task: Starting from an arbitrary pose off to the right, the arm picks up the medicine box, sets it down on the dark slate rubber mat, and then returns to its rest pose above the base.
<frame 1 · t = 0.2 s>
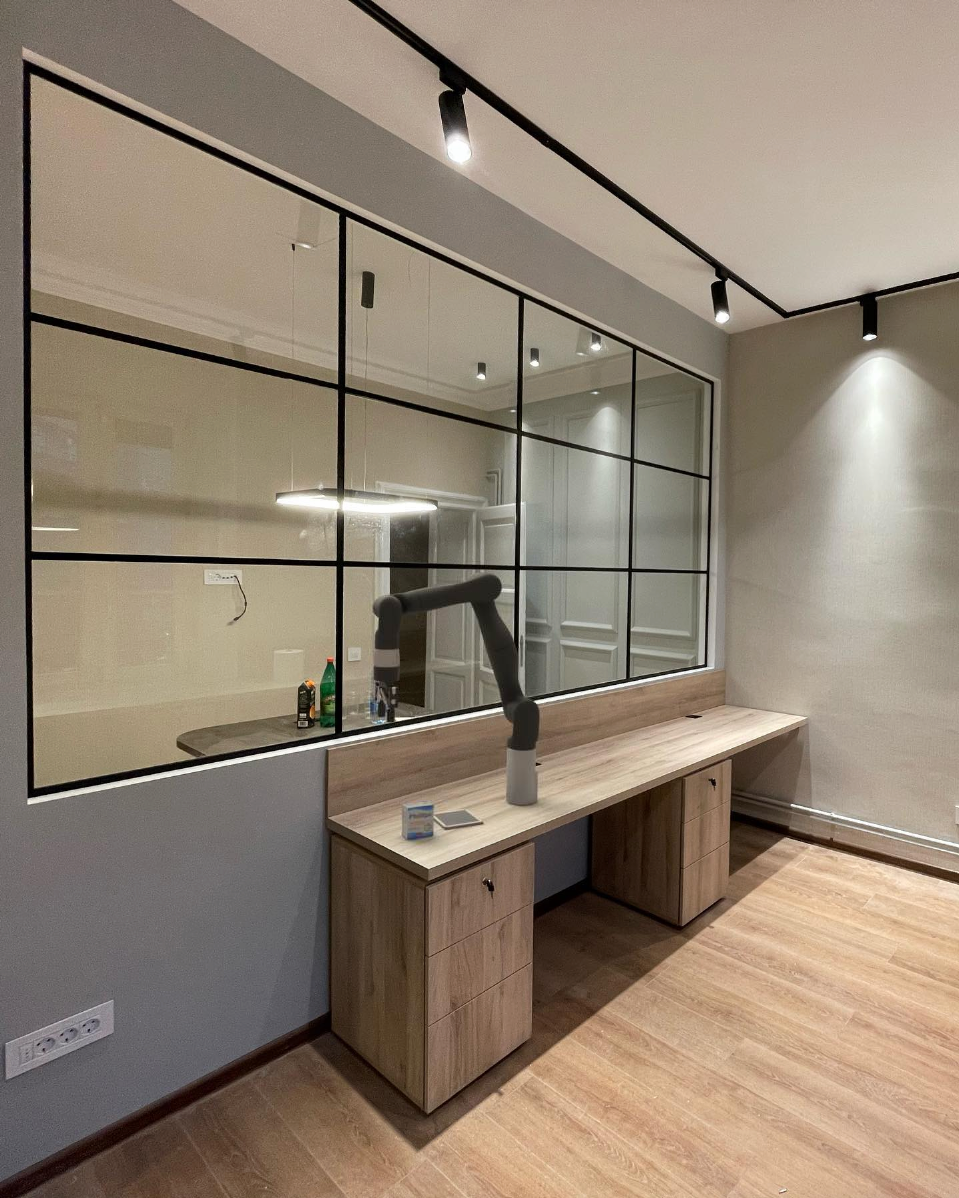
hand: (385, 719, 199), 29 cm above the table, fingers open, 8 cm apart
medicine box: (417, 836, 188), on the table
mat: (456, 819, 200), on the table
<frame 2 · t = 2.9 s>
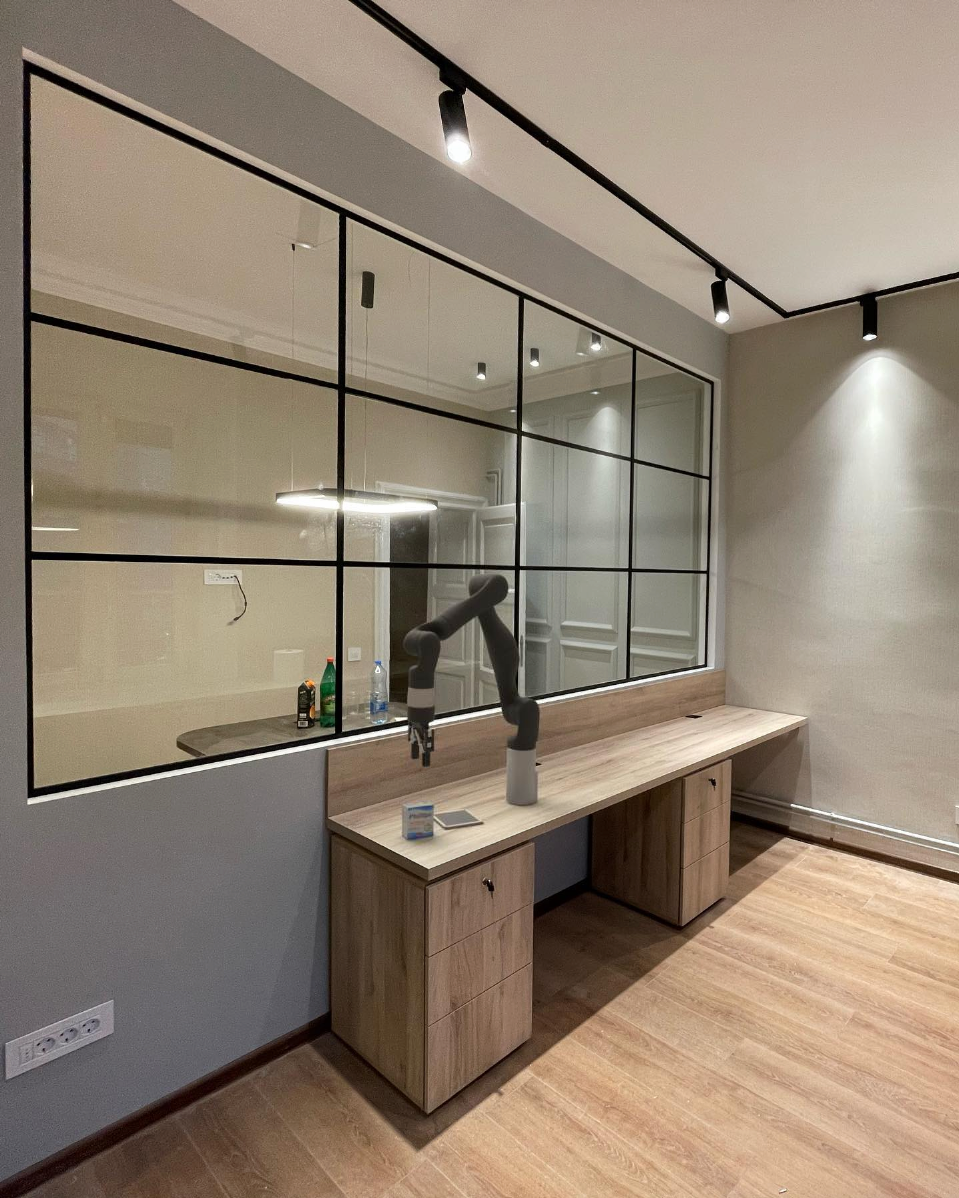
hand: (420, 762, 187), 20 cm above the table, fingers open, 8 cm apart
nothing on the table moved.
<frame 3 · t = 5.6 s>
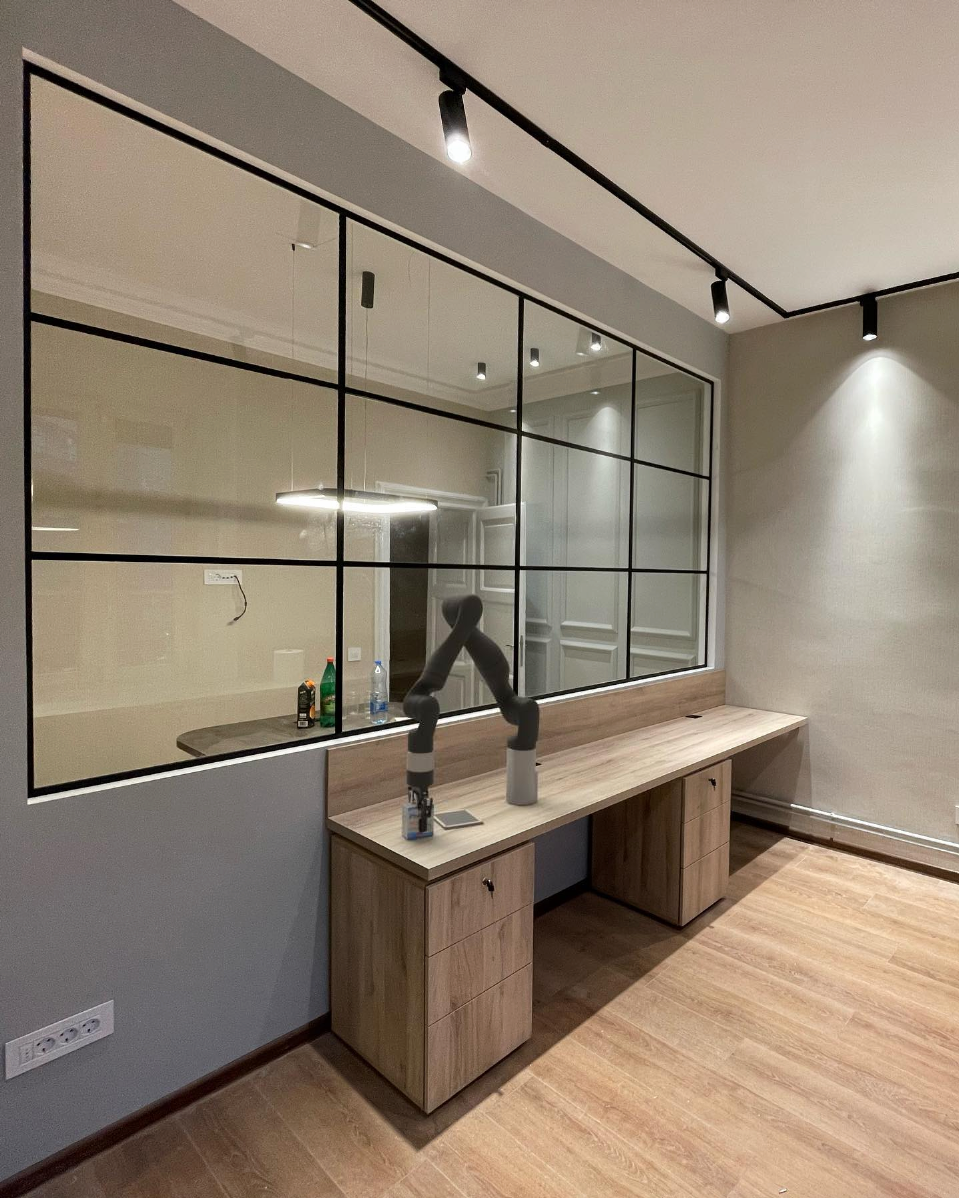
hand: (419, 828, 188), 2 cm above the table, fingers closed on medicine box, 4 cm apart
medicine box: (417, 835, 188), on the table, touching gripper
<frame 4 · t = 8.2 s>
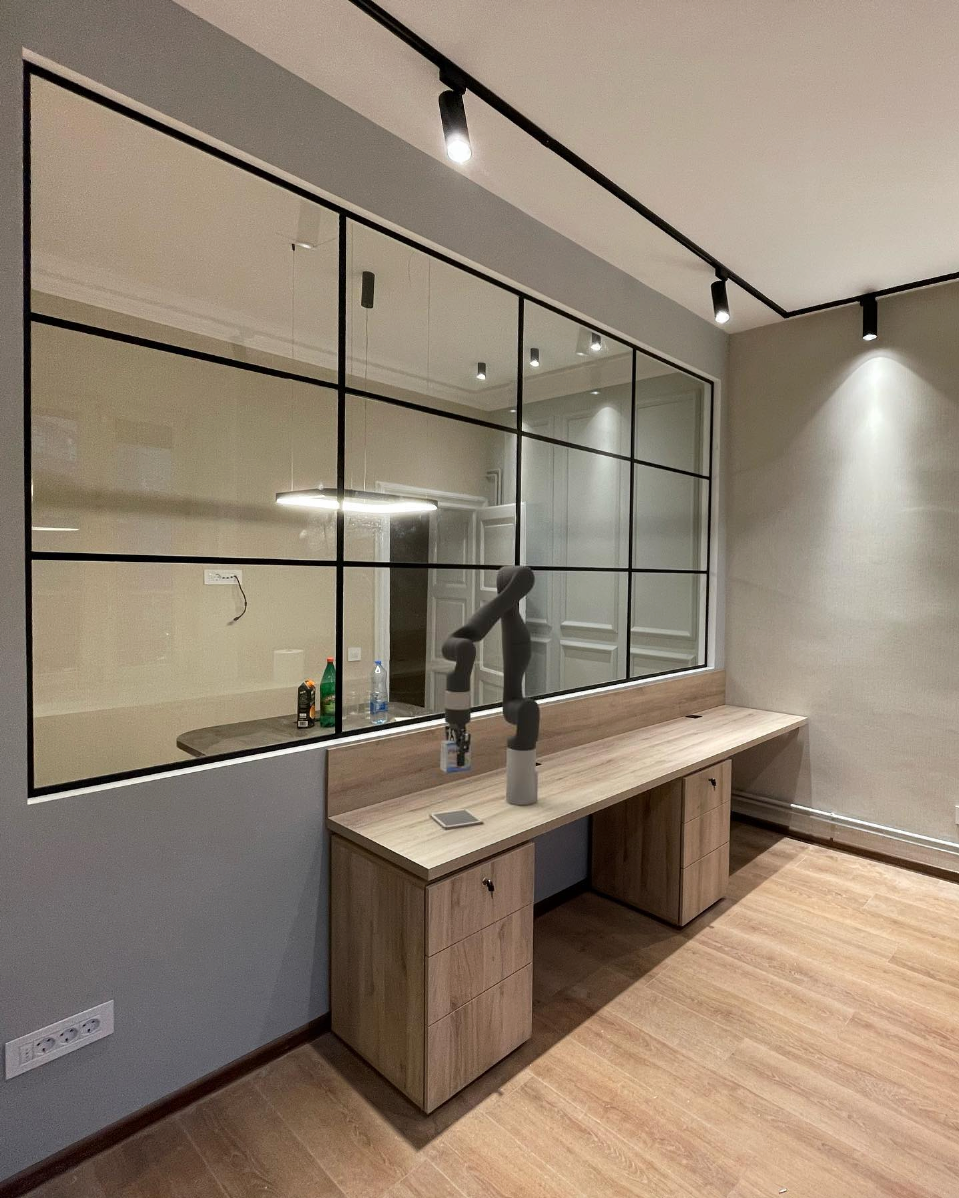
hand: (457, 763, 200), 17 cm above the table, fingers closed on medicine box, 4 cm apart
medicine box: (455, 770, 200), point 15 cm above the table, touching gripper
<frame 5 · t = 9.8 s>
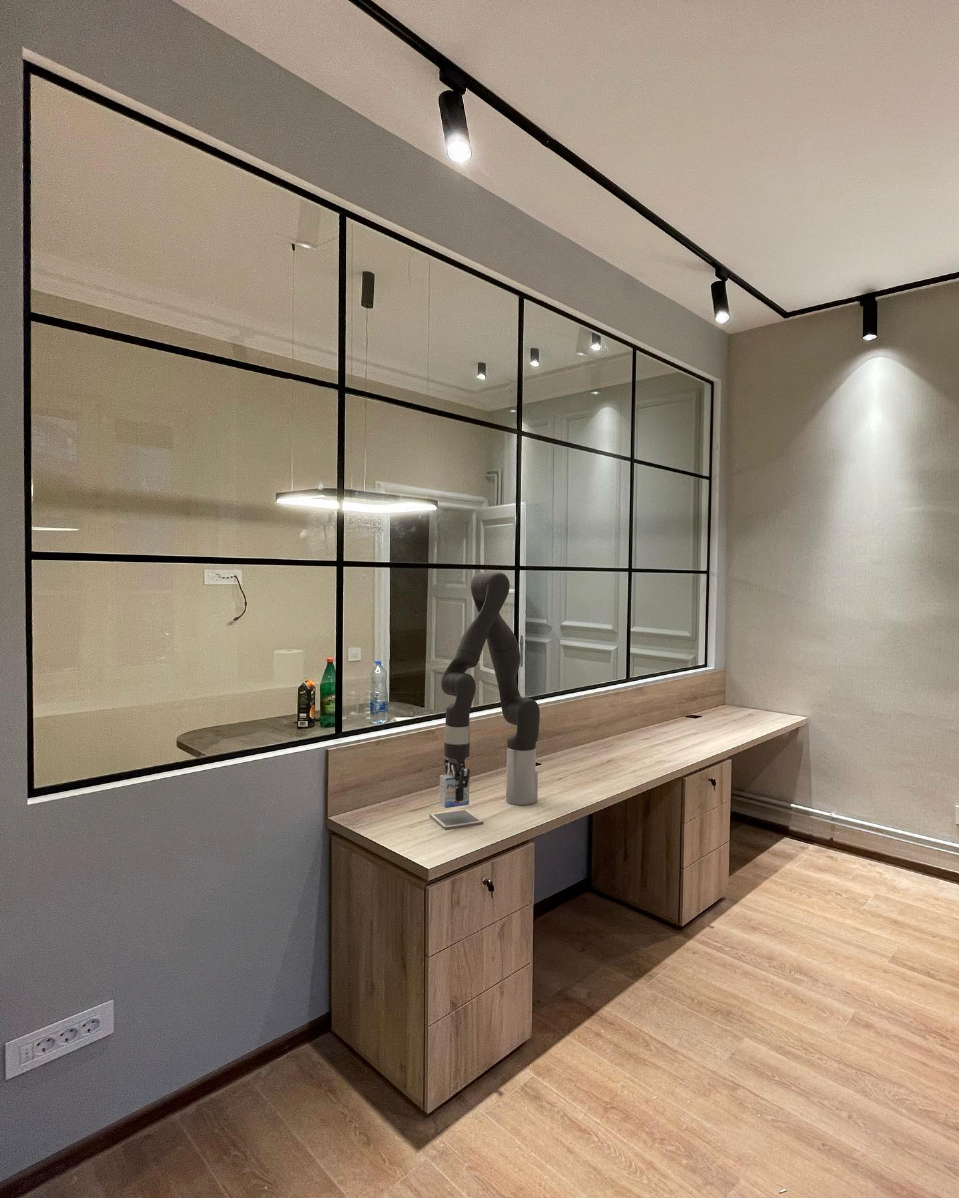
hand: (455, 798, 200), 6 cm above the table, fingers closed on medicine box, 4 cm apart
medicine box: (454, 805, 200), point 4 cm above the table, touching gripper
when the fingers open (4 cm above the table, at t = 10.8 s): medicine box drops 1 cm, resting on mat.
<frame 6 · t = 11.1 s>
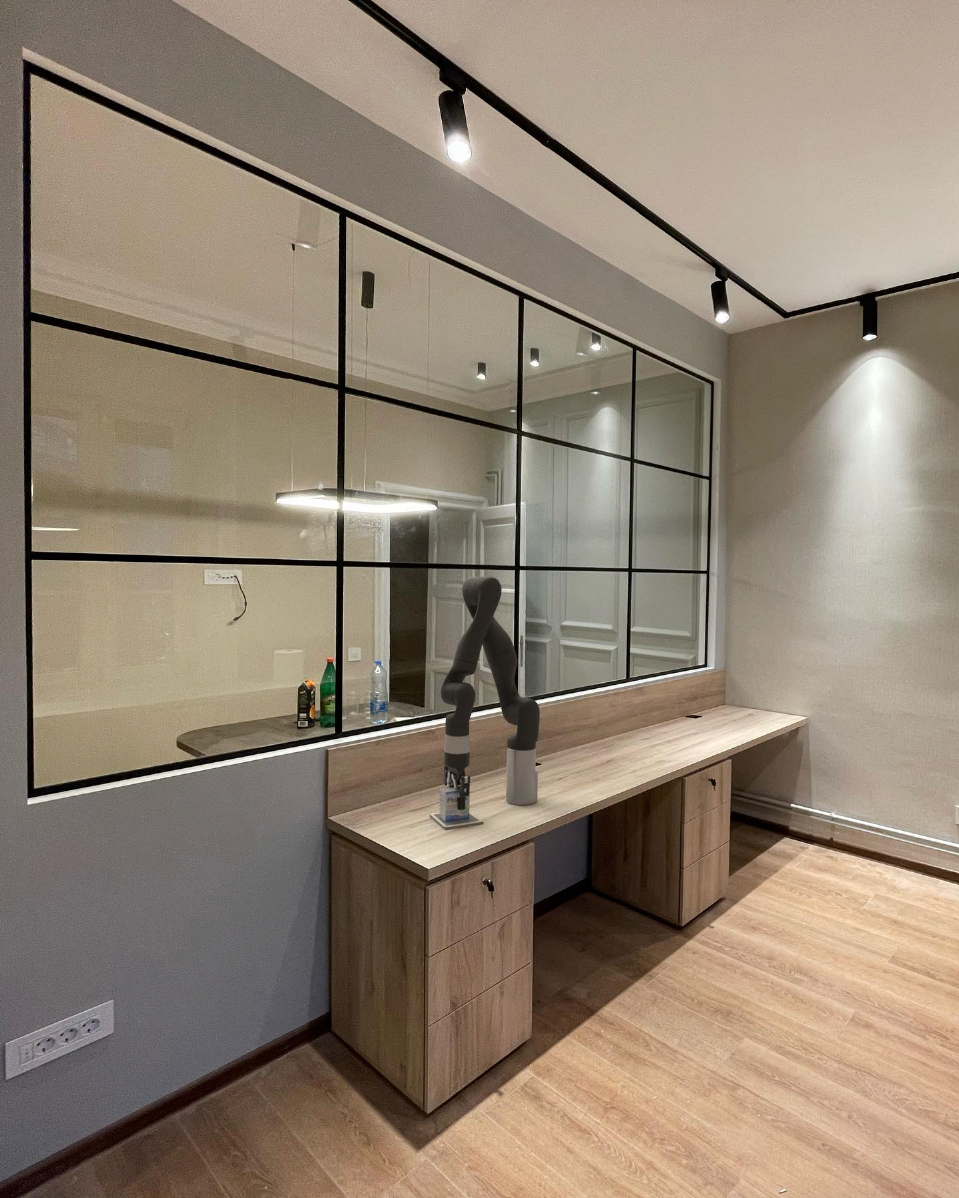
hand: (456, 805, 200), 4 cm above the table, fingers open, 6 cm apart
medicine box: (454, 818, 200), resting on mat
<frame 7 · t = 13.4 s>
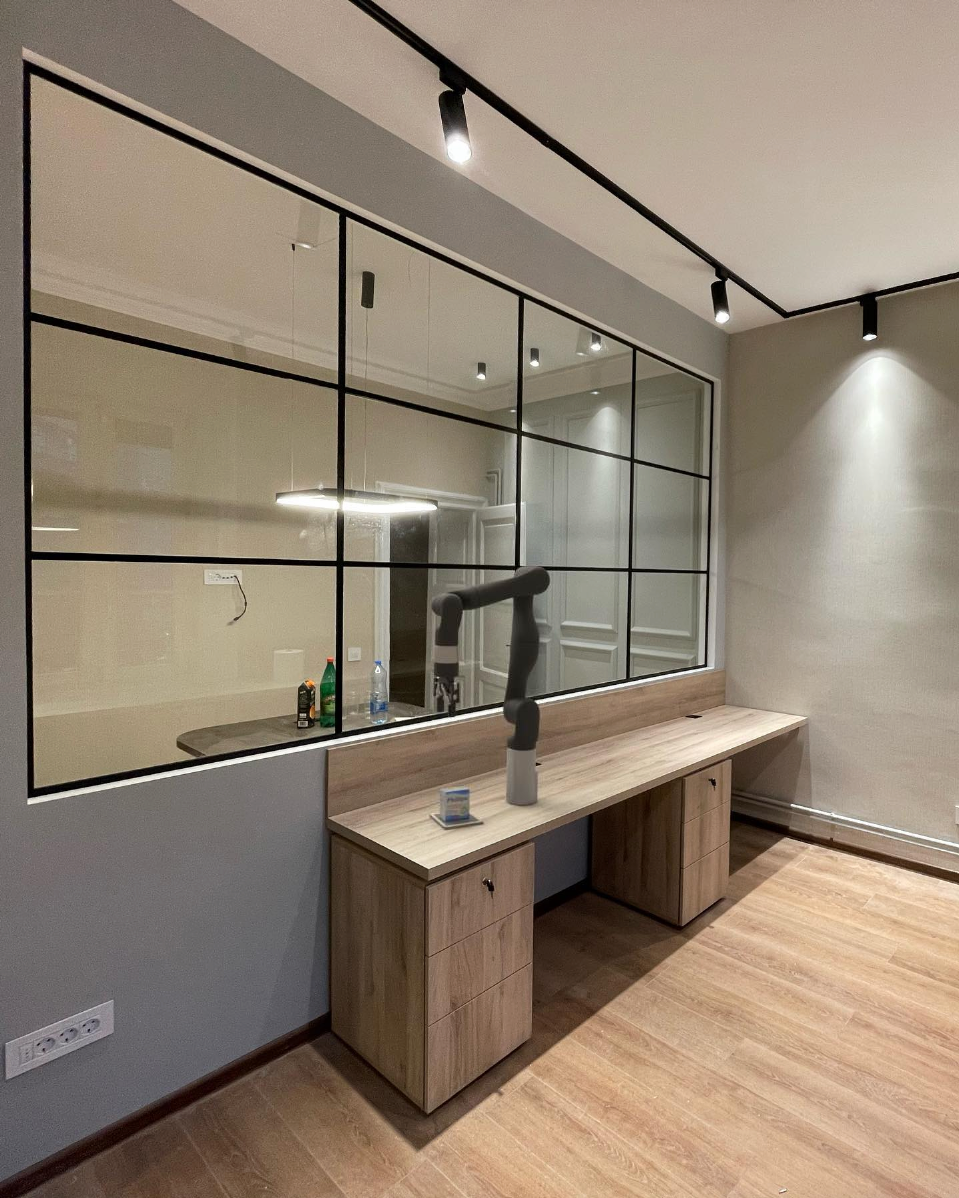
hand: (445, 714, 204), 30 cm above the table, fingers open, 8 cm apart
nothing on the table moved.
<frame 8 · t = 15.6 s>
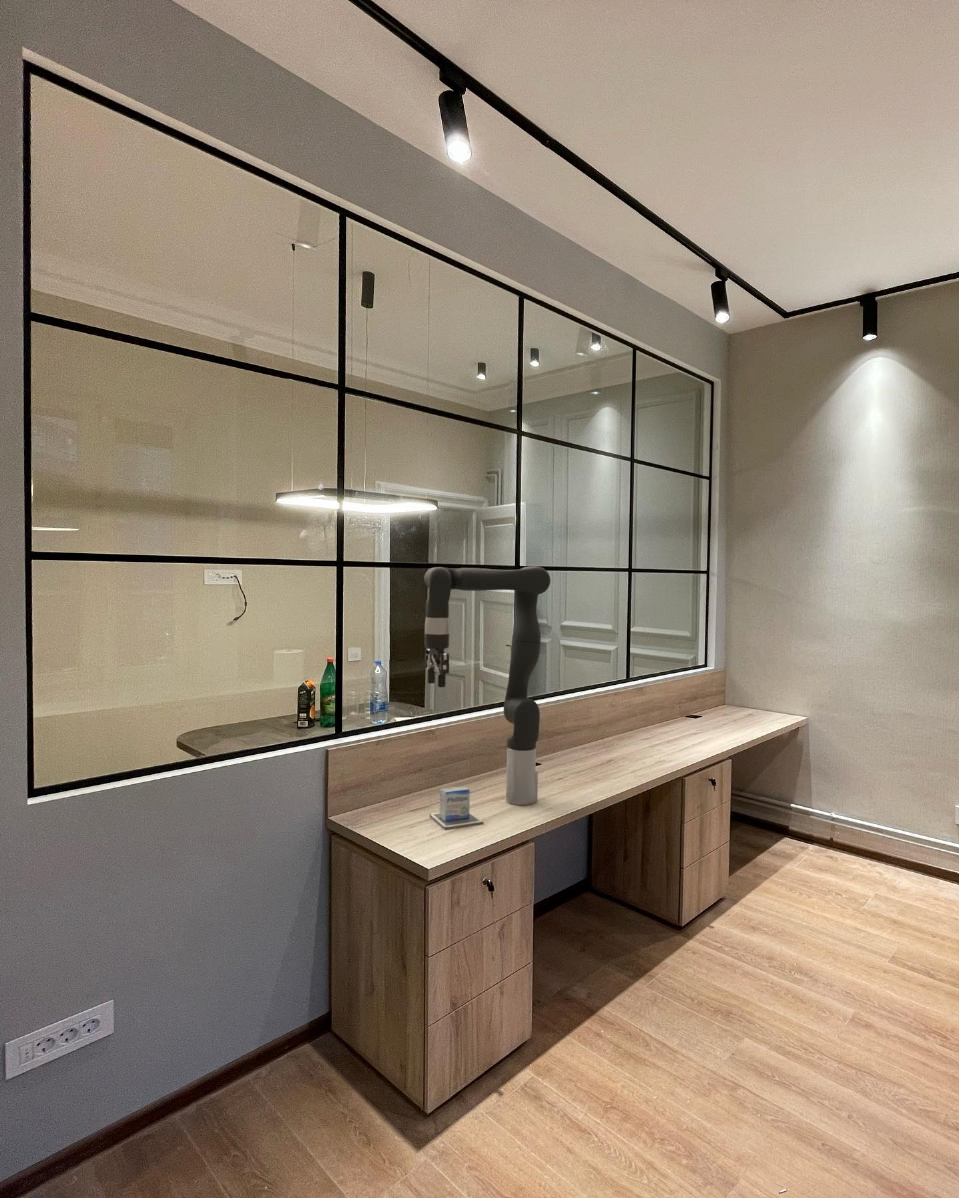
hand: (436, 685, 209), 38 cm above the table, fingers open, 8 cm apart
nothing on the table moved.
at the end: medicine box inside the target area on the mat (0.5 cm from its centre), point 0.4 cm above the mat's base; medicine box tilted 0°; the gripper is holding nothing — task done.
